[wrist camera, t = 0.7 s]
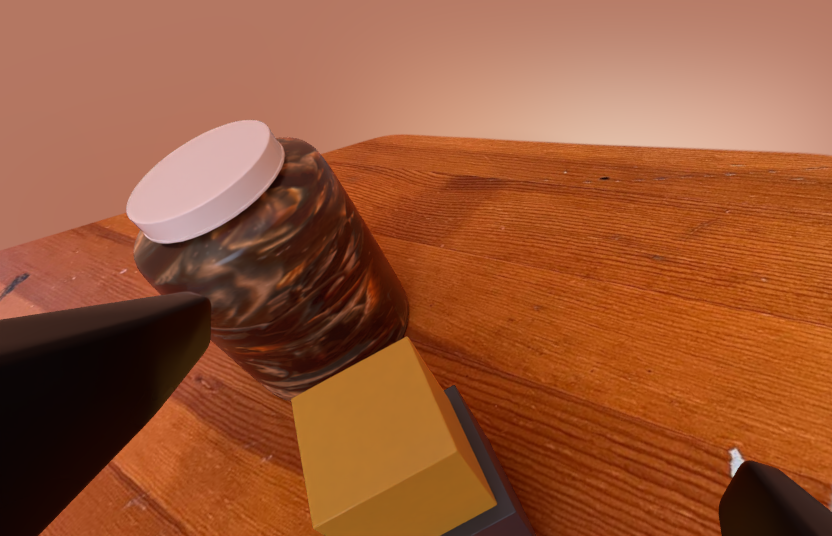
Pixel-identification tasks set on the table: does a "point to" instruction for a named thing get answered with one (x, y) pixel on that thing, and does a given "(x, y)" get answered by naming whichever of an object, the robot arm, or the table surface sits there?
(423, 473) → the top block
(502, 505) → the base block
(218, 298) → the jar
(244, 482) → the table surface
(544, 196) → the table surface
